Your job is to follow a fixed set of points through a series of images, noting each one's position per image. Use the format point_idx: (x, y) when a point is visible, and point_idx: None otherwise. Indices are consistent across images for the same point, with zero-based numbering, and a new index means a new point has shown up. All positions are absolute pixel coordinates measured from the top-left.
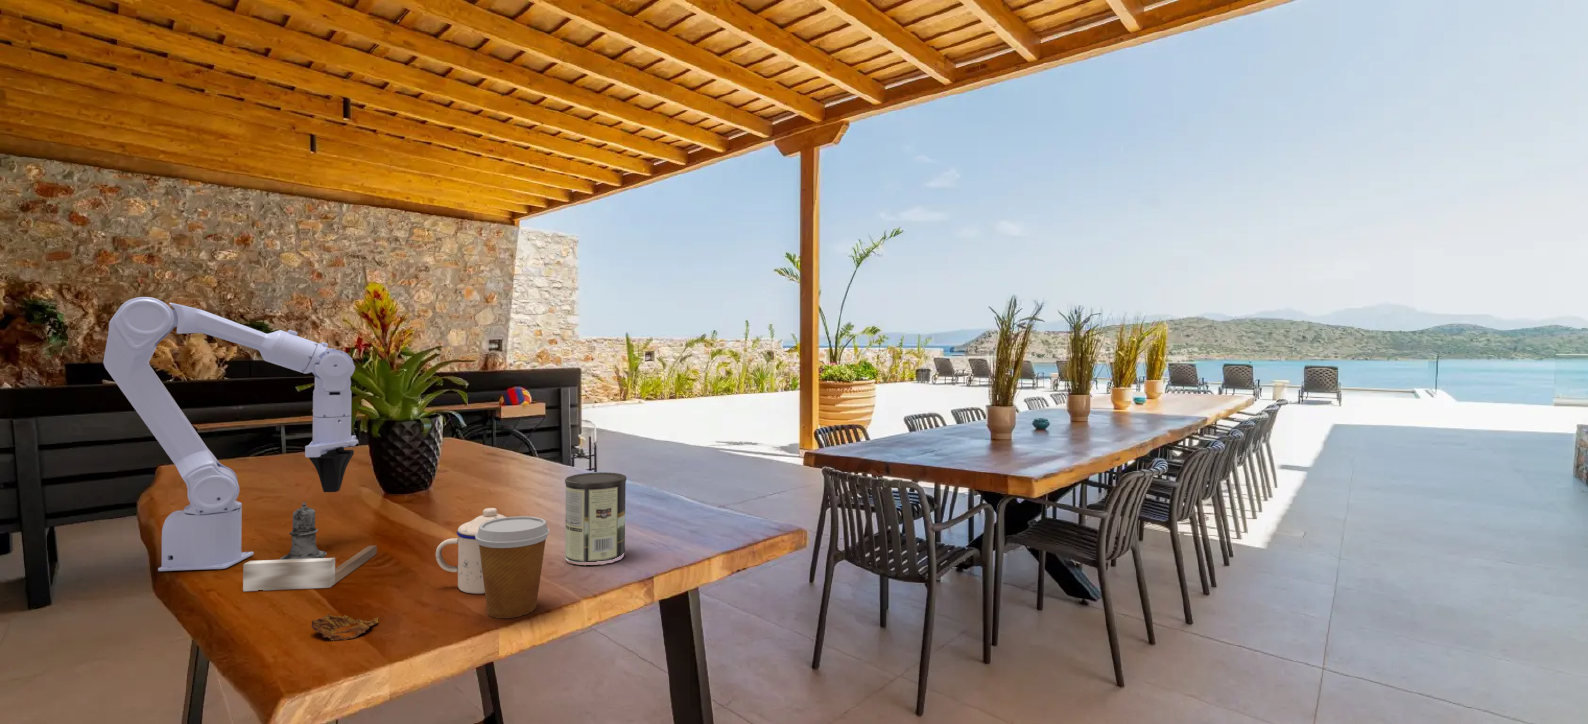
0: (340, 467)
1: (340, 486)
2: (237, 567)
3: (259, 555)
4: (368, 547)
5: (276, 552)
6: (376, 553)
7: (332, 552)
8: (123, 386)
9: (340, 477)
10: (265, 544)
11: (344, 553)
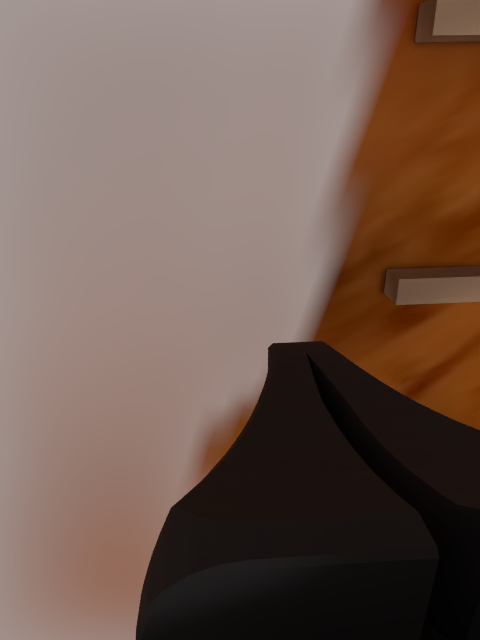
0: (434, 428)
1: (282, 349)
2: (451, 414)
3: None
4: (467, 22)
5: None
6: (421, 3)
7: (344, 218)
8: None
9: (331, 380)
10: (206, 468)
11: (369, 164)
